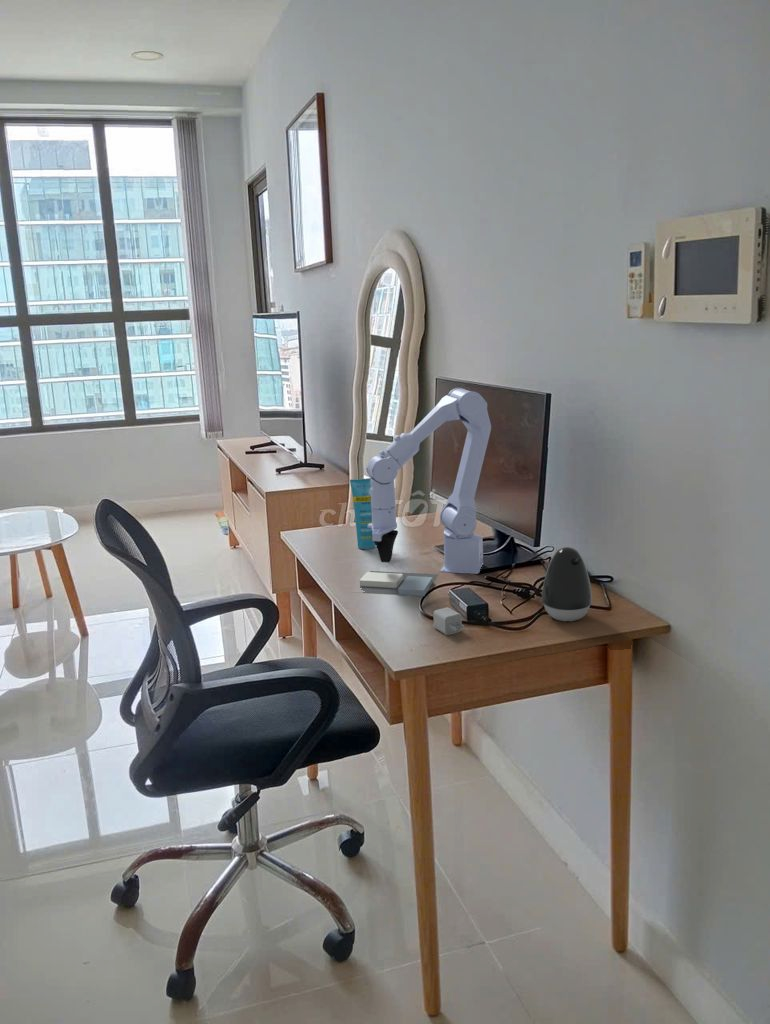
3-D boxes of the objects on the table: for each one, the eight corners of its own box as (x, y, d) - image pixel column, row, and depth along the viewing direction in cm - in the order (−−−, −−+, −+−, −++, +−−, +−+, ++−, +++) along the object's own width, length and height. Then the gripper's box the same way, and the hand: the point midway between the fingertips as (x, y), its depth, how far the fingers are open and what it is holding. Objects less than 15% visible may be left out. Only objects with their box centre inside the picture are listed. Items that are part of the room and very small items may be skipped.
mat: (438, 575, 205) (438, 574, 205) (424, 597, 191) (423, 596, 191) (370, 572, 210) (370, 570, 210) (352, 593, 196) (352, 592, 196)
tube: (355, 551, 227) (351, 481, 222) (352, 546, 232) (348, 477, 227) (382, 548, 229) (379, 478, 224) (378, 543, 233) (375, 474, 228)
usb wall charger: (450, 624, 176) (449, 606, 175) (468, 635, 170) (468, 617, 169) (433, 628, 174) (433, 610, 173) (452, 640, 168) (451, 621, 167)
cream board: (402, 573, 202) (396, 582, 197) (403, 579, 203) (396, 588, 197) (366, 571, 205) (359, 580, 199) (367, 577, 205) (359, 585, 200)
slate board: (407, 581, 201) (407, 575, 201) (432, 582, 200) (432, 577, 199) (398, 594, 193) (398, 588, 192) (423, 596, 191) (423, 590, 191)
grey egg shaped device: (556, 629, 171) (557, 558, 167) (533, 612, 181) (533, 543, 177) (601, 622, 174) (603, 551, 170) (576, 605, 183) (577, 537, 179)
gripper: (375, 498, 208) (378, 551, 212) (358, 514, 195) (361, 570, 198) (403, 499, 206) (405, 552, 210) (388, 515, 193) (390, 571, 196)
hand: (386, 561), depth 204 cm, fingers closed
